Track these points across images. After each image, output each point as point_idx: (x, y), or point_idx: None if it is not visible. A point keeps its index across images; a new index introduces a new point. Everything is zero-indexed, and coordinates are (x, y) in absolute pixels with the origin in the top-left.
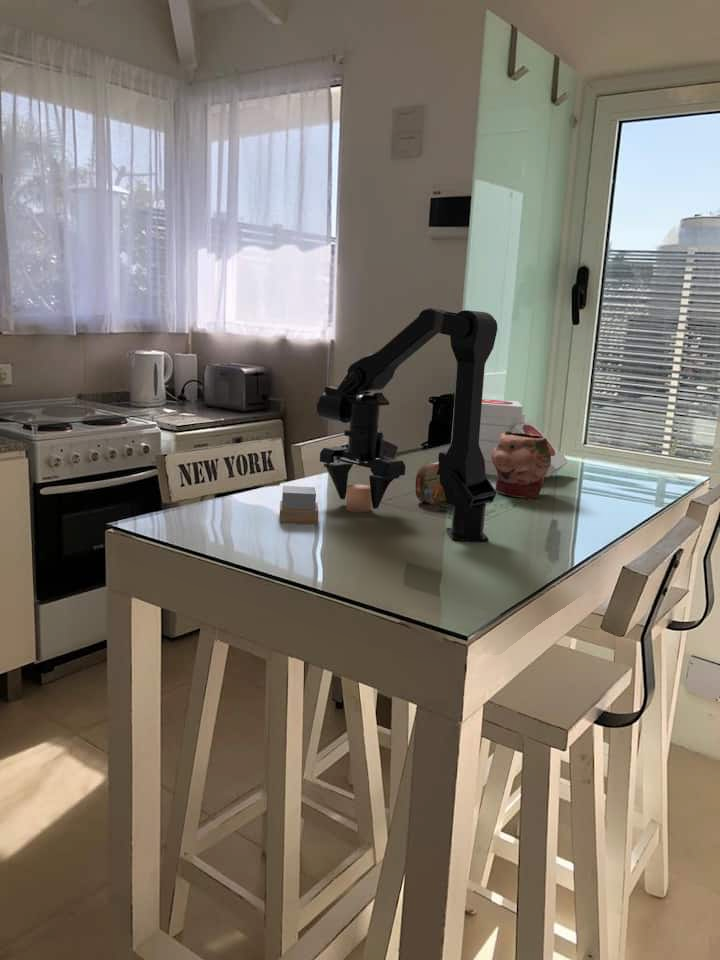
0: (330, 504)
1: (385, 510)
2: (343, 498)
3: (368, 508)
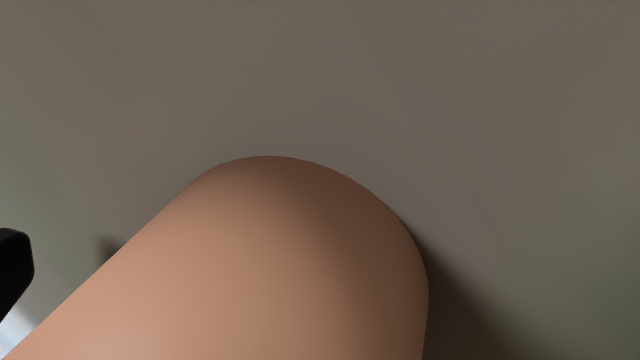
0: (32, 298)
1: (587, 131)
2: (26, 255)
3: (424, 328)
